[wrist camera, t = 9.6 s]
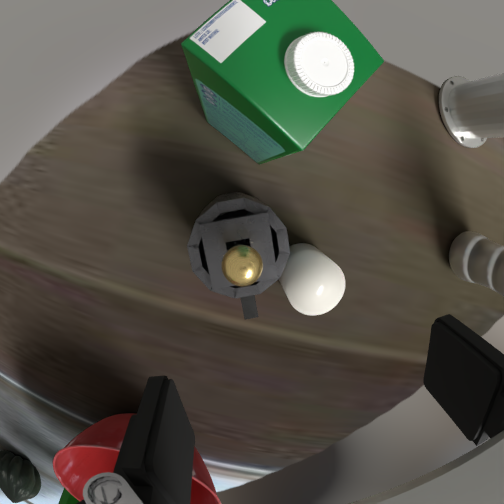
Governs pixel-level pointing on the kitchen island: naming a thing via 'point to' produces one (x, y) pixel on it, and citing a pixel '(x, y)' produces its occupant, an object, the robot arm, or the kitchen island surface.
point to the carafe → (232, 229)
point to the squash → (18, 477)
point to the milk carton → (277, 71)
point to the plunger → (240, 257)
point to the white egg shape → (312, 280)
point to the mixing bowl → (114, 460)
